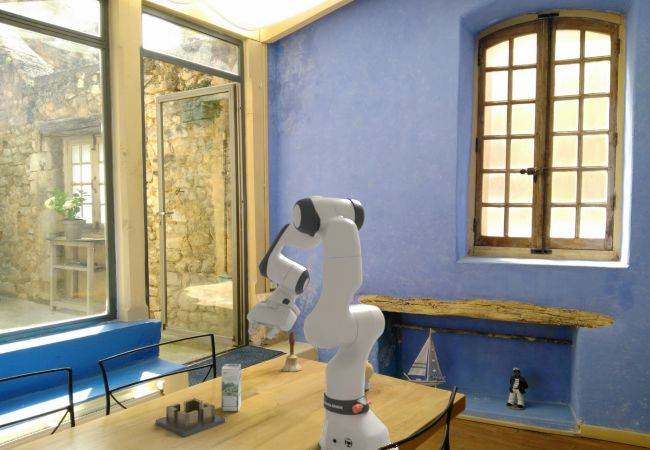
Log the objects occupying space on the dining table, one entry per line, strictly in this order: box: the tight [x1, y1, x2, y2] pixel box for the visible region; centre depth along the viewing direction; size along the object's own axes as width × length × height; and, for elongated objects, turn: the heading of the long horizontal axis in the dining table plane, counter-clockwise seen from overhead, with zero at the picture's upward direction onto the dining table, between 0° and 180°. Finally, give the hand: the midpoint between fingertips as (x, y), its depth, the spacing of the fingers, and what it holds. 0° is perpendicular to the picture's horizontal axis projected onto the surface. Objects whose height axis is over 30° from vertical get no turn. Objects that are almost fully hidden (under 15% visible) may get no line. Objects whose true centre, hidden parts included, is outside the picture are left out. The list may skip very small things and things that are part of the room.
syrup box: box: [221, 363, 242, 413], centre depth 176 cm, size 6×6×14 cm
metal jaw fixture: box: [155, 397, 226, 438], centre depth 164 cm, size 15×15×5 cm
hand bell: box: [281, 330, 303, 373], centre depth 222 cm, size 8×8×16 cm
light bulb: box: [364, 361, 375, 391], centre depth 197 cm, size 6×6×10 cm
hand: (259, 335), depth 185 cm, fingers open, 8 cm apart
